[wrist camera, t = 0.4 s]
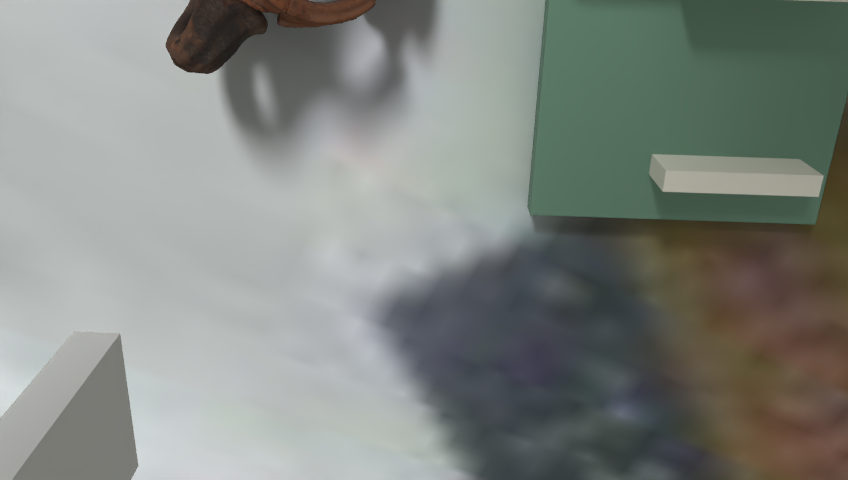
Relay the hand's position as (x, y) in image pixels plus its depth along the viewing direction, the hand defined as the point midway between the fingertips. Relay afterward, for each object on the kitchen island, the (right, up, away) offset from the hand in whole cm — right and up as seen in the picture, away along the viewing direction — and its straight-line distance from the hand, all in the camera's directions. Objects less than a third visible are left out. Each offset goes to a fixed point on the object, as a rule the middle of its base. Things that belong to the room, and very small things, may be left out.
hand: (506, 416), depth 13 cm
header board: (+11, +13, +22) cm, 28 cm away
